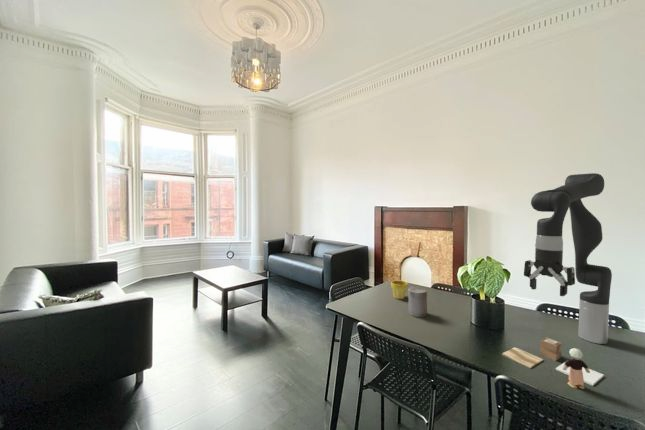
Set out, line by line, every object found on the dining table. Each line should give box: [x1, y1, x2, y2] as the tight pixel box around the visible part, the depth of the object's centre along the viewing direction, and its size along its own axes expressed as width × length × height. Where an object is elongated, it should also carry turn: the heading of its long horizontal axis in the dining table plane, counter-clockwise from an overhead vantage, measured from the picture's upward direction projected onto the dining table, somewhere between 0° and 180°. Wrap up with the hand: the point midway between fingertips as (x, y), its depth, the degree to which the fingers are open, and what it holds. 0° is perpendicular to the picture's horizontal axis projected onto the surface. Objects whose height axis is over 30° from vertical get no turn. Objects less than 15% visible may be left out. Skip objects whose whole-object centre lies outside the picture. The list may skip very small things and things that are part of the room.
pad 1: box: [501, 346, 544, 369], centre depth 107 cm, size 10×10×1 cm
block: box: [539, 337, 563, 362], centre depth 108 cm, size 5×5×6 cm
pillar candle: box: [407, 286, 428, 318], centre depth 149 cm, size 10×10×15 cm
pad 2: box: [555, 359, 605, 387], centre depth 97 cm, size 10×10×1 cm
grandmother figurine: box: [563, 347, 590, 390], centre depth 90 cm, size 8×4×13 cm, turn 92°
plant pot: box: [390, 279, 409, 300], centre depth 175 cm, size 10×10×10 cm
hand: (547, 292), depth 97 cm, fingers open, 8 cm apart
